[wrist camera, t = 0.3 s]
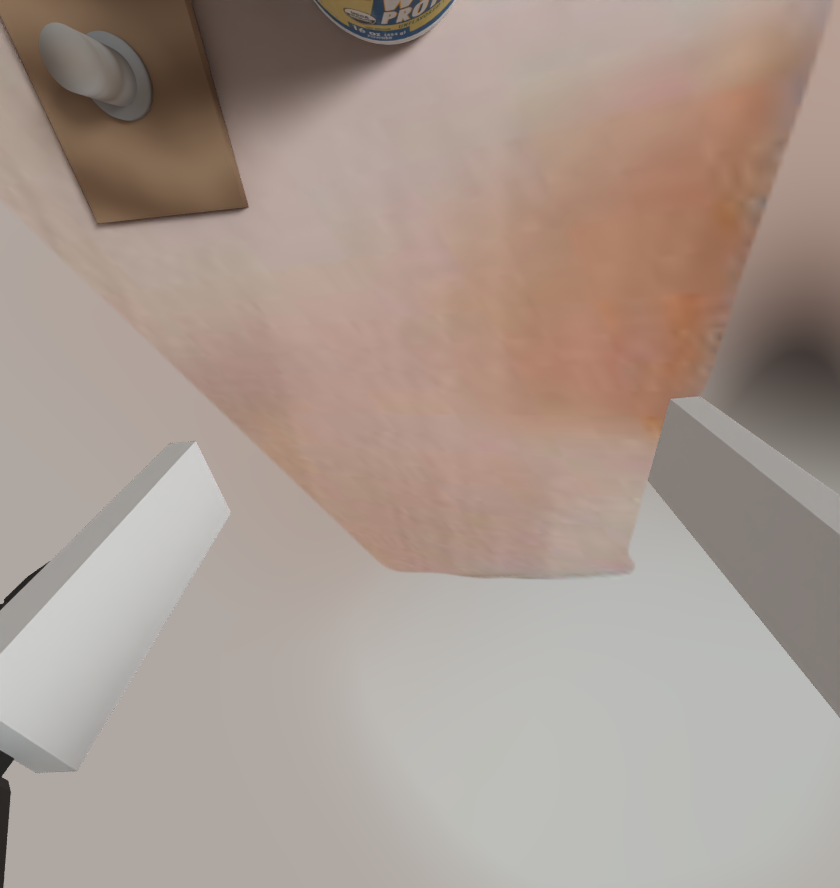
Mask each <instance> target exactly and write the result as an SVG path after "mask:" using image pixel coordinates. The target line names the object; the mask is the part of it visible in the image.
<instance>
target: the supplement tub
mask: <svg viewBox="0 0 840 888" xmlns="http://www.w3.org/2000/svg"><path fill="white" fill-rule="evenodd" d="M313 1H314V2H315V3H316V4H317V6H318V7H319V8H320V9H321V11H322V12H323V13H324V14H325V15H326V16H327V17H328V18H329V19H330V20H331V21H332V22H334V23H335V24H336V25H337V26H338V27H340V28H341V29H343V30H344V31H346V32H347V33H349V34H351V35H353V36H355V37H357V38H359V39H362V40H364V41H368V42H371V43H376V44H385V45H392V44H400V43H405V42H408V41H410V40H413V39H416V38H418V37H420V36H422V35H423V34H425V33H426V32H428V31H429V30H431V29H432V28H433V27H435V26H436V25H437V24H438V23H439V22H440V21H441V20H442V19H443V18H444V17H445V16H446V14H447V13H448V12H449V10H450V9H451V8H452V6H453V5H454V3H455V2H456V0H313Z"/></svg>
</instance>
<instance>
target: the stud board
mask: <svg viewBox="0 0 840 888" xmlns="http://www.w3.org/2000/svg"><path fill="white" fill-rule="evenodd" d="M0 16H1V18H2V20H3V22H4V24H5V27H6V29H7V31H8V33H9V35H10V37H11V39H12V41H13V44H14V46H15V48H16V50H17V52H18V54H19V56H20V59H21V61H22V63H23V65H24V67H25V69H26V71H27V73H28V76H29V78H30V80H31V82H32V84H33V86H34V88H35V90H36V93H37V95H38V97H39V99H40V101H41V103H42V105H43V108H44V110H45V112H46V114H47V116H48V118H49V120H50V122H51V125H52V127H53V129H54V131H55V133H56V135H57V137H58V139H59V142H60V144H61V146H62V148H63V150H64V152H65V154H66V157H67V159H68V161H69V163H70V165H71V167H72V169H73V171H74V174H75V176H76V178H77V180H78V182H79V184H80V186H81V188H82V191H83V193H84V195H85V197H86V199H87V201H88V203H89V206H90V208H91V210H92V212H93V214H94V216H95V218H96V220H97V223H109V222H118V221H127V220H136V219H145V218H154V217H164V216H173V215H182V214H191V213H200V212H209V211H218V210H228V209H237V208H246V207H248V203H247V200H246V196H245V193H244V189H243V185H242V182H241V178H240V175H239V171H238V168H237V164H236V161H235V157H234V153H233V150H232V146H231V143H230V139H229V136H228V132H227V129H226V125H225V121H224V118H223V114H222V111H221V107H220V104H219V100H218V97H217V93H216V89H215V86H214V82H213V79H212V75H211V72H210V68H209V65H208V61H207V57H206V54H205V50H204V47H203V43H202V40H201V36H200V32H199V29H198V25H197V22H196V18H195V15H194V11H193V8H192V4H191V0H0Z"/></svg>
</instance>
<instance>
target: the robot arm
mask: <svg viewBox="0 0 840 888" xmlns="http://www.w3.org/2000/svg"><path fill="white" fill-rule="evenodd" d="M648 481H649V483H650V484H651V485H652V486H653V487H654V489H655V490H656V491H657V493H658V494H659V495H660V496H661V497H662V499H663V500H664V501H665V502H666V504H667V505H668V506H669V507H670V509H671V510H672V511H673V512H674V514H675V515H676V516H677V517H678V518H679V520H680V521H681V522H682V523H683V525H684V526H685V527H686V528H687V530H688V531H689V532H690V533H691V535H692V536H693V537H694V538H695V539H696V541H697V542H698V543H699V544H700V546H701V547H702V548H703V549H704V551H705V552H706V553H707V554H708V555H709V557H710V558H711V559H712V560H713V562H714V563H715V564H716V565H717V567H718V568H719V569H720V570H721V572H722V573H723V574H724V575H725V576H726V578H727V579H728V580H729V581H730V583H731V584H732V585H733V586H734V588H735V589H736V590H737V591H738V592H739V594H740V595H741V596H742V597H743V599H744V600H745V601H746V602H747V603H748V605H749V606H750V607H751V609H752V610H753V611H754V612H755V614H756V615H757V616H758V617H759V618H760V620H761V621H762V622H763V623H764V625H765V626H766V627H767V628H768V630H769V631H770V632H771V633H772V634H773V636H774V637H775V638H776V639H777V641H778V642H779V643H780V644H781V646H782V647H783V648H784V649H785V650H786V652H787V653H788V654H789V656H790V657H791V658H792V659H793V660H794V662H795V663H796V664H797V665H798V667H799V668H800V669H801V670H802V672H803V673H804V674H805V675H806V677H807V678H808V679H809V680H810V681H811V683H812V684H813V685H814V686H815V688H816V689H817V690H818V691H819V692H820V694H821V695H822V696H823V698H824V699H825V700H826V701H827V702H828V704H829V705H830V706H831V707H832V709H833V710H834V711H835V712H836V714H837V715H838V716H839V717H840V495H839V494H837V493H835V492H834V491H833V490H831V489H830V488H829V487H827V486H826V485H824V484H823V483H822V482H820V481H819V480H817V479H816V478H814V477H813V476H812V475H810V474H809V473H807V472H806V471H805V470H803V469H802V468H800V467H799V466H798V465H796V464H795V463H793V462H792V461H790V460H789V459H787V458H786V457H785V456H783V455H782V454H781V453H779V452H778V451H776V450H775V449H774V448H772V447H770V446H769V445H768V444H766V443H765V442H763V441H762V440H761V439H759V438H758V437H757V436H755V435H753V434H752V433H751V432H749V431H748V430H747V429H745V428H744V427H742V426H741V425H740V424H738V423H737V422H735V421H734V420H733V419H731V418H730V417H728V416H727V415H725V414H724V413H723V412H721V411H720V410H718V409H717V408H716V407H714V406H713V405H711V404H710V403H708V402H707V401H705V400H704V399H703V398H701V397H688V398H677V399H670V402H669V406H668V409H667V413H666V416H665V420H664V424H663V427H662V431H661V434H660V438H659V442H658V445H657V449H656V452H655V456H654V459H653V463H652V467H651V470H650V474H649V477H648ZM230 514H231V512H230V510H229V508H228V506H227V504H226V502H225V500H224V498H223V496H222V494H221V492H220V490H219V488H218V486H217V484H216V482H215V480H214V477H213V476H212V473H211V471H210V469H209V467H208V465H207V463H206V461H205V459H204V457H203V455H202V453H201V451H200V449H199V447H198V445H197V443H196V441H190V442H179V443H170V444H169V445H168V446H167V447H165V448H164V449H163V450H162V451H161V452H160V453H159V454H158V455H157V457H156V458H154V459H153V460H152V461H151V462H150V463H149V465H147V466H146V467H145V468H144V469H143V470H142V471H141V472H140V473H139V474H138V475H137V476H136V477H135V478H134V479H133V480H132V481H131V482H130V483H129V484H128V485H127V486H126V487H125V488H124V489H123V490H122V491H121V492H120V493H119V494H118V495H117V496H116V497H115V498H114V499H113V500H112V501H111V502H110V503H109V504H108V505H107V506H106V507H105V508H104V509H103V510H102V511H101V512H100V513H99V514H98V515H97V516H96V517H95V518H93V519H92V521H90V522H89V523H88V524H87V525H86V526H85V527H84V529H82V530H81V532H79V533H78V534H77V535H76V536H75V537H74V538H73V539H72V540H71V541H70V542H69V543H68V544H67V545H66V546H65V547H64V548H63V549H62V550H61V551H60V552H59V553H58V554H57V555H56V556H55V557H54V558H53V559H52V560H51V561H49V562H48V563H47V564H45V565H44V566H43V567H41V568H39V569H38V570H37V571H35V572H34V573H32V574H31V575H29V576H28V577H27V578H26V579H25V580H24V581H23V582H22V583H21V584H20V585H19V586H17V587H16V588H15V589H14V590H13V591H12V592H11V593H10V594H9V595H8V596H7V597H6V598H5V599H4V603H3V604H0V888H3V883H4V871H5V858H6V845H7V833H8V819H9V807H10V794H11V791H10V787H9V782H8V781H7V780H6V779H4V778H2V775H3V774H4V772H5V771H6V770H7V768H8V767H9V765H10V764H11V763H12V761H13V760H15V761H17V762H19V763H20V764H22V765H24V766H25V767H27V768H29V769H30V770H32V771H34V772H35V773H45V772H68V771H77V770H78V769H79V767H80V765H81V763H82V762H83V760H84V758H85V757H86V755H87V753H88V752H89V750H90V748H91V747H92V745H93V743H94V742H95V740H96V738H97V737H98V735H99V733H100V732H101V730H102V728H103V727H104V725H105V723H106V722H107V720H108V718H109V716H110V715H111V713H112V712H113V710H114V708H115V706H116V705H117V703H118V701H119V700H120V698H121V696H122V695H123V693H124V691H125V690H126V688H127V686H128V685H129V683H130V681H131V680H132V678H133V676H134V675H135V673H136V671H137V669H138V668H139V666H140V664H141V663H142V661H143V659H144V658H145V656H146V654H147V653H148V651H149V649H150V648H151V646H152V644H153V643H154V641H155V639H156V637H157V636H158V634H159V633H160V631H161V629H162V628H163V626H164V624H165V623H166V621H167V619H168V617H169V616H170V614H171V612H172V611H173V609H174V607H175V606H176V604H177V602H178V601H179V599H180V597H181V596H182V594H183V592H184V591H185V589H186V587H187V585H188V584H189V582H190V581H191V579H192V577H193V575H194V574H195V572H196V571H197V569H198V567H199V565H200V564H201V562H202V560H203V559H204V557H205V555H206V554H207V552H208V550H209V549H210V547H211V545H212V543H213V542H214V540H215V539H216V537H217V535H218V534H219V532H220V530H221V528H222V527H223V525H224V523H225V522H226V520H227V519H228V517H229V515H230Z"/></svg>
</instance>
